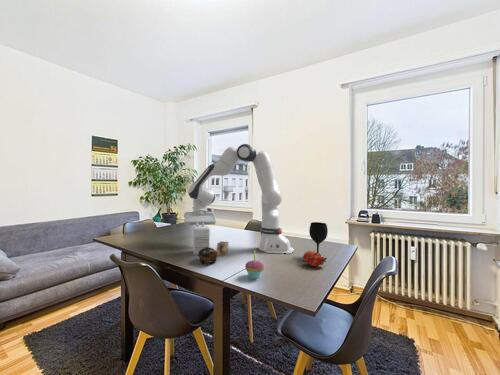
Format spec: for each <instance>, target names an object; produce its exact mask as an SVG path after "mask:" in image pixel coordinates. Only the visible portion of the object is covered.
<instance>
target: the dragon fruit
mask: <svg viewBox="0 0 500 375" xmlns="http://www.w3.org/2000/svg"><path fill="white" fill-rule="evenodd" d="M321 255H322V254H320V252H319V253H317V251H315V250H313V251H312V250H308V251H305V253H303V256H302V258H303V261H302V262H304V263H307V265H308V266H309V267H315V268H317V267H319V268H320V266H322V265H324V263H325V262H327V260H326V259H325V258H324V257H321Z"/></svg>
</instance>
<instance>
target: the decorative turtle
mask: <svg viewBox="0 0 500 375" xmlns="http://www.w3.org/2000/svg"><path fill="white" fill-rule="evenodd" d="M197 256H198V259H199V261H200V263H201V264H203V263H204V265H205V266H208V265H209V264H210V263H213V264H216V262H217V259H218V256H219V255H218V253H217V249H214V248H212V247H210V246H209V247H206V248H203V249H201V250H200V251H199V253H198V255H197Z"/></svg>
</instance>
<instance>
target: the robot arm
mask: <svg viewBox="0 0 500 375" xmlns="http://www.w3.org/2000/svg"><path fill="white" fill-rule="evenodd" d="M256 150H257V149H255V148H254V146H252V145H250V144H249V143H243V144H240V145H239V146H238V147H237V148H236V147H233V146H228V147H226V149H225V150H224V151H223V153H222V154H221V155H220V157H219V159H218V160H217V161H215V163H213V164H212V163H211V164H209V165H208V166H207V167H206V168H205V169H204V171H203V172H202V173H201V174H200V175H199V177H198V178H197V179H196V180H195V182H193V183H192V184H191V185H190V186H189V188H188V190H187V193H188V196H189V198H191V199H192V200H193V201H192V204H193V208H192V211H186V212H184V213H183V217H184V220H183V224H184V225H185V226H195V225H196V226H199V227H201V226H205V225H206V226H208V225H209V226H212V225H214V226H215V224H216V223H217V219H216V214H215V213H214V208H210V207H207V206H209V205H211V204H213V203H214V202H215V200H216V192H215V191H214V190H213V189H211V188H208V187H205V186H203V185H204V184H206V182H207V180H209V178H211V177H213V176H222V177H223V176H227V175H230V174H231V172H232V171H233V170H234V168H235V166H236V164H237V163H238V162H240V161H242V162H244V163H245V162H246V163H252V164H253V166H254V170H255V173H256V177H257V182H258V185H259V188H260V190H261V227H260V242H259V245H258V249H259V251H261V252H264V253H267V254H284V253H286V254H287V255H288V254H289V255H290V254H293V253H292V252H294V248H293V246H291V242H290V240H289V239H288V238H287V237H286V236H285V235H284V234H282V233H283V230H282V228H281V227H279V226H280V214H279V205H280V204H281V203H282V200H283V198H282V194H281V190H280V187H279V185H278V182H277V179H276V176H275V172H274V169H273V168H274V167H273V165H272V161H271V159H270V156H269V154H268V153H267V152H266V151H264V150H263V151H256ZM200 225H201V226H200ZM196 226H195V227H196Z"/></svg>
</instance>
